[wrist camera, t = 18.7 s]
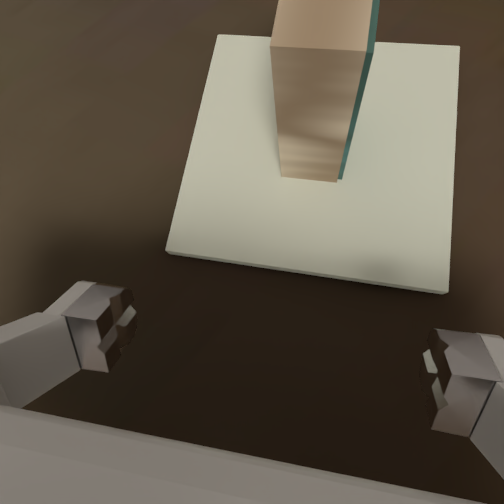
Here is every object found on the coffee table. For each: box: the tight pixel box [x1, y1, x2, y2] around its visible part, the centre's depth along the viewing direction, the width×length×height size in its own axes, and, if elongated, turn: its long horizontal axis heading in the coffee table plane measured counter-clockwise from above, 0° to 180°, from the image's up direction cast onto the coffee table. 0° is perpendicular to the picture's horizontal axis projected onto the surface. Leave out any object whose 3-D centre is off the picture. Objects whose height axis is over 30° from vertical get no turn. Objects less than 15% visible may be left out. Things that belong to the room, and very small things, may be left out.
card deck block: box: [270, 0, 380, 183], centre depth 14 cm, size 3×4×8 cm
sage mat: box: [165, 35, 460, 294], centre depth 18 cm, size 12×12×1 cm
